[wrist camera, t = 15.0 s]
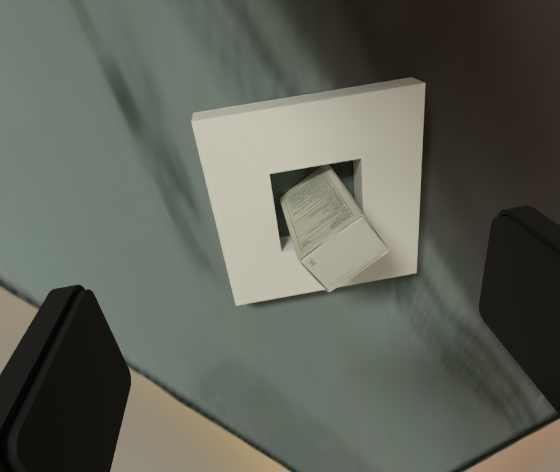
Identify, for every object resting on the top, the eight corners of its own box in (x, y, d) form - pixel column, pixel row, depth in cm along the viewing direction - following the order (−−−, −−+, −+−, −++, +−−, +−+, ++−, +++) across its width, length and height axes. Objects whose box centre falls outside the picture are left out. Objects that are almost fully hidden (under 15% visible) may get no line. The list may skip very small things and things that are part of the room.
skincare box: (302, 225, 44) (327, 296, 33) (277, 196, 42) (294, 262, 31) (351, 190, 42) (392, 252, 32) (327, 158, 40) (363, 213, 30)
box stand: (193, 112, 37) (191, 121, 34) (411, 77, 37) (425, 82, 35) (235, 288, 47) (235, 305, 44) (406, 258, 48) (416, 273, 45)
